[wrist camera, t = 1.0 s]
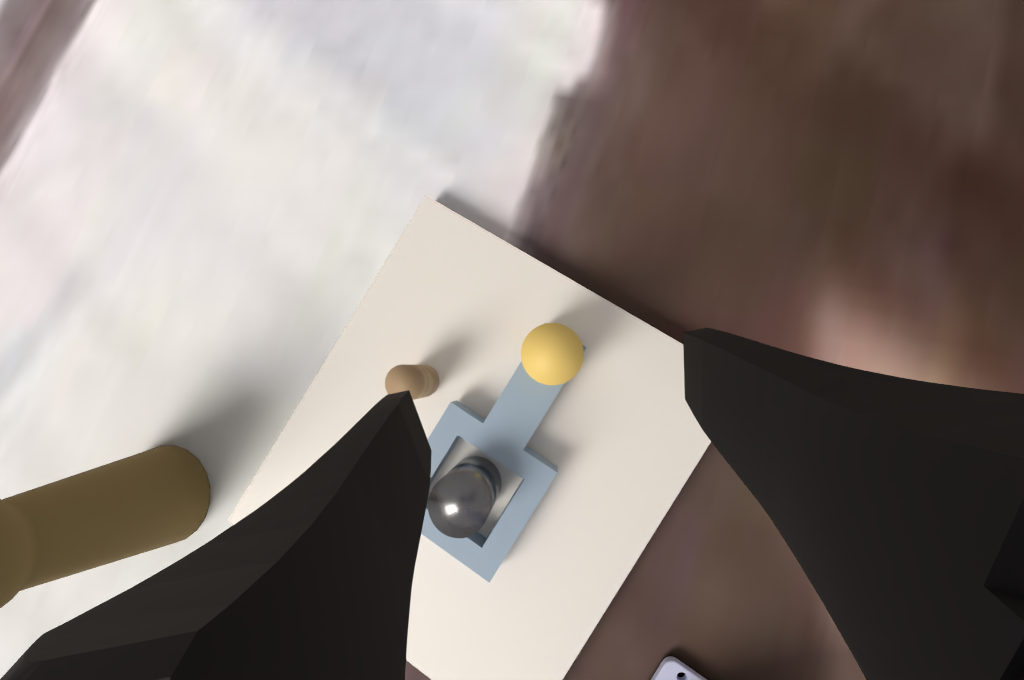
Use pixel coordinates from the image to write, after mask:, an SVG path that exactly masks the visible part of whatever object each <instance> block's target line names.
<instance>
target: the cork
mask: <svg viewBox="0 0 1024 680" xmlns="http://www.w3.org/2000/svg"><path fill="white" fill-rule="evenodd" d="M209 504H210V484H209V481H208V477H207V473H206V471H205V469H204V468H203V466H202V464H201V463H200V461H199V460H198V459H197V458H196V457H195V456H194V455H192V454H191V453H190V452H189V451H188V450H185V449H182V448H180V447H177V446H160V447H157V448H154V449H151V450H148V451H145V452H142V453H139V454H136V455H133V456H130V457H127V458H124V459H121V460H118V461H115V462H112V463H109V464H106V465H103V466H100V467H97V468H94V469H91V470H88V471H86V472H83V473H80V474H77V475H74V476H71V477H68V478H65V479H62V480H59V481H56V482H53V483H50V484H47V485H44V486H41V487H38V488H35V489H32V490H29V491H26V492H23V493H20V494H17V495H14V496H11V497H9V498H6V499H3V500H1V499H0V608H1V607H3V606H4V605H5V604H6V603H8V602H9V601H10V600H11V599H13V597H14V596H15V595H16V594H17V593H18V592H19V591H21V590H24V589H27V588H31V587H34V586H37V585H40V584H44V583H47V582H50V581H53V580H56V579H60V578H63V577H66V576H69V575H73V574H76V573H79V572H82V571H86V570H89V569H92V568H95V567H98V566H102V565H105V564H108V563H111V562H115V561H118V560H121V559H124V558H127V557H131V556H134V555H137V554H140V553H144V552H147V551H150V550H153V549H157V548H160V547H163V546H166V545H169V544H173V543H176V542H178V541H181V540H184V539H186V538H187V537H189V536H190V535H191V534H193V533H194V532H195V531H196V530H197V529H198V528H199V526H200V525H201V523H202V522H203V520H204V519H205V517H206V513H207V510H208V507H209Z"/></svg>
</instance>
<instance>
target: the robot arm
mask: <svg viewBox="0 0 1024 680" xmlns="http://www.w3.org/2000/svg"><path fill="white" fill-rule="evenodd" d="M683 351H684V388H685V400H686V402H687V404H688V406H689V408H690V409H691V411H692V413H693V415H694V417H695V418H696V420H697V422H698V423H699V425H700V427H701V428H702V430H703V431H704V433H705V434H706V435H707V437H708V438H709V439H710V441H711V442H712V443H713V444H714V446H715V447H716V448H717V450H718V451H719V452H720V453H721V455H722V456H723V457H724V458H725V460H726V461H727V462H728V464H729V465H730V466H731V467H732V469H733V470H734V471H735V472H736V474H737V475H738V476H739V477H740V479H741V480H742V481H743V482H744V484H745V485H746V486H747V488H748V489H749V490H750V491H751V493H752V494H753V495H754V496H755V498H756V499H757V500H758V501H759V503H760V504H761V506H762V507H763V508H764V510H765V511H766V513H767V514H768V515H769V517H770V518H771V520H772V521H773V523H774V524H775V526H776V527H777V529H778V530H779V532H780V534H781V535H782V537H783V538H784V540H785V541H786V543H787V545H788V546H789V548H790V549H791V551H792V552H793V554H794V556H795V557H796V559H797V560H798V562H799V564H800V565H801V567H802V569H803V570H804V572H805V574H806V575H807V577H808V579H809V580H810V582H811V584H812V585H813V587H814V588H815V590H816V592H817V593H818V595H819V597H820V598H821V600H822V602H823V603H824V605H825V607H826V609H827V610H828V612H829V614H830V616H831V617H832V619H833V621H834V623H835V624H836V626H837V628H838V630H839V631H840V633H841V635H842V637H843V638H844V640H845V642H846V644H847V645H848V647H849V649H850V651H851V652H852V654H853V656H854V658H855V659H856V661H857V663H858V665H859V667H860V669H861V670H862V672H863V674H864V676H865V678H866V680H1024V394H1019V393H1010V392H1000V391H991V390H982V389H974V388H966V387H959V386H952V385H944V384H937V383H930V382H923V381H917V380H911V379H905V378H899V377H894V376H889V375H884V374H879V373H874V372H869V371H864V370H859V369H854V368H850V367H846V366H841V365H837V364H833V363H830V362H826V361H822V360H818V359H814V358H810V357H807V356H803V355H799V354H796V353H792V352H789V351H786V350H782V349H779V348H776V347H772V346H769V345H766V344H763V343H759V342H756V341H753V340H750V339H747V338H743V337H740V336H737V335H733V334H730V333H727V332H723V331H719V330H715V329H710V328H704V329H699V330H694V331H690V332H685V333H683ZM431 454H432V450H431V448H430V445H429V442H428V440H427V437H426V434H425V431H424V429H423V426H422V423H421V421H420V418H419V415H418V412H417V410H416V407H415V404H414V402H413V399H412V396H411V394H410V391H409V390H407V391H403V392H398V393H393V394H388V395H386V396H385V397H383V398H382V399H381V400H380V401H379V402H378V403H377V404H375V405H374V406H373V407H372V408H371V409H370V410H369V411H368V412H367V413H366V414H365V415H364V416H363V417H362V418H361V419H360V420H359V421H358V422H357V423H356V424H355V425H354V426H353V427H352V428H351V429H350V430H349V431H348V432H347V433H346V434H345V435H344V436H343V437H342V438H341V439H340V440H339V441H338V442H337V443H336V444H334V445H333V446H332V447H331V448H330V449H329V450H328V451H327V452H326V453H325V454H323V455H322V456H321V457H320V458H319V459H318V460H317V461H316V462H315V463H313V464H312V465H311V466H310V467H309V468H308V469H307V470H306V471H305V472H303V473H302V474H301V475H300V476H299V477H298V478H296V479H295V480H294V481H293V482H291V483H290V484H289V485H288V486H287V487H285V488H284V489H283V490H281V491H280V492H279V493H277V494H276V495H275V496H274V497H272V498H271V499H270V500H268V501H267V502H266V503H264V504H263V505H262V506H260V507H259V508H258V509H256V510H255V511H253V512H252V513H250V514H249V515H248V516H246V517H245V518H243V519H242V520H240V521H239V522H237V523H236V524H234V525H233V526H231V527H230V528H229V529H227V530H226V531H224V532H223V533H221V534H220V535H218V536H217V537H215V538H214V539H212V540H211V541H209V542H208V543H206V544H205V545H203V546H201V547H200V548H198V549H197V550H195V551H193V552H192V553H190V554H188V555H187V556H185V557H184V558H182V559H180V560H179V561H177V562H175V563H174V564H172V565H170V566H169V567H167V568H165V569H163V570H162V571H160V572H158V573H157V574H155V575H153V576H151V577H150V578H148V579H146V580H144V581H143V582H141V583H139V584H137V585H136V586H134V587H132V588H130V589H128V590H127V591H125V592H123V593H121V594H119V595H117V596H115V597H113V598H111V599H109V600H108V601H106V602H104V603H102V604H100V605H98V606H96V607H94V608H92V609H91V610H89V611H87V612H85V613H83V614H81V615H79V616H77V617H75V618H73V619H72V620H70V621H68V622H66V623H64V624H62V625H60V626H58V627H56V628H54V629H52V630H50V631H48V632H46V633H44V634H43V635H42V636H41V637H39V638H38V639H37V640H36V641H35V642H34V643H33V644H32V645H31V646H30V647H29V649H28V650H27V651H26V652H25V653H24V654H23V655H22V656H21V657H20V658H19V659H18V661H17V662H16V663H15V664H14V665H13V666H12V667H11V668H10V669H9V670H8V672H7V673H6V674H5V675H4V676H3V677H2V678H1V679H0V680H405V666H406V651H407V636H408V624H409V612H410V601H411V590H412V582H413V575H414V569H415V563H416V558H417V553H418V547H419V542H420V537H421V532H422V527H423V521H424V516H425V511H426V505H427V500H428V494H429V488H430V478H431ZM680 672H683V673H685V675H684V676H683V677H678V676H677V674H678V673H680ZM651 680H707V679H705V678H704V677H702V676H701V675H700V674H698V673H697V672H695V671H694V670H692V669H691V668H690V667H688V666H687V665H685V664H684V663H682V662H681V661H680V660H678V659H677V658H675V657H666V658H665V659H664V660H663V661H662V662H661V664H660V666H659V667H658V669H657V670H656V672H655V674H654V675H653V677H652V678H651Z"/></svg>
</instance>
